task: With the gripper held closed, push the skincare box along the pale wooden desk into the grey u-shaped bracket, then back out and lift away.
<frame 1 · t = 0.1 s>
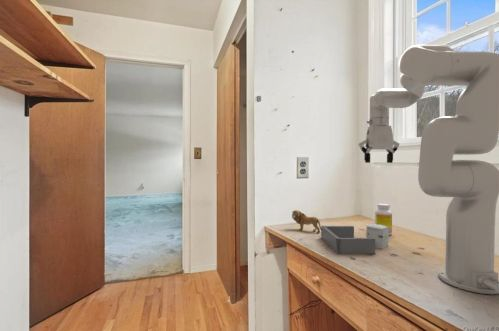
hand: (378, 162, 110), 31 cm above the table, tool pointing down, fingers open, 9 cm apart
skincare box: (377, 245, 96), on the table
supplement bottle: (383, 233, 112), on the table
lion figurine: (306, 231, 115), on the table
grey u-shaped bracket: (345, 245, 95), on the table
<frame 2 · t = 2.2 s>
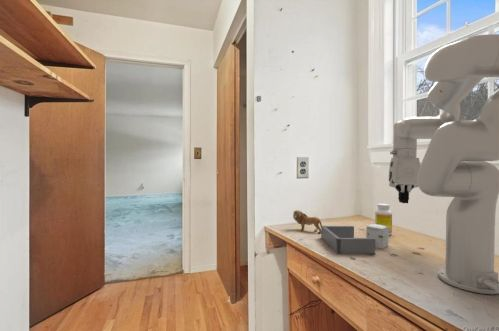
hand: (403, 202, 96), 16 cm above the table, tool pointing down, fingers closed
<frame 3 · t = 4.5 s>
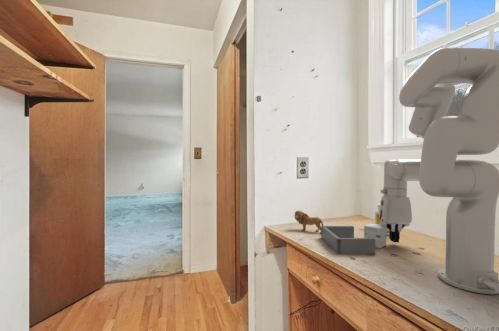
hand: (394, 241, 96), 1 cm above the table, tool pointing down, fingers closed
skincare box: (375, 245, 96), on the table, touching gripper
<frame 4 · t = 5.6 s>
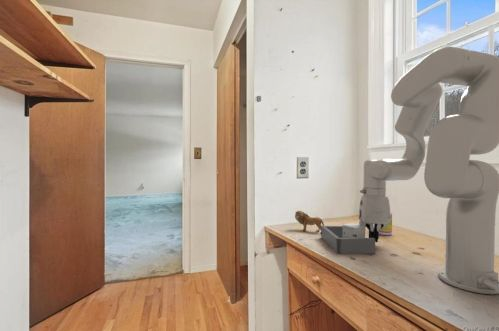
hand: (373, 241, 96), 1 cm above the table, tool pointing down, fingers closed
skincare box: (353, 244, 96), resting in grey u-shaped bracket, touching gripper
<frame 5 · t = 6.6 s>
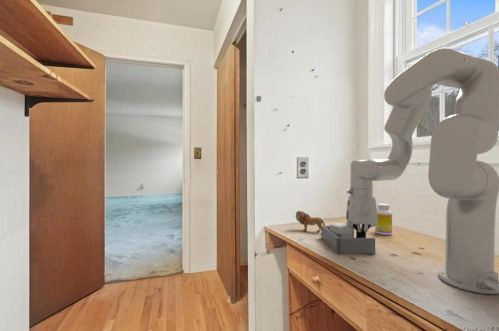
hand: (360, 241, 95), 1 cm above the table, tool pointing down, fingers closed
skincare box: (340, 244, 97), resting in grey u-shaped bracket, touching gripper
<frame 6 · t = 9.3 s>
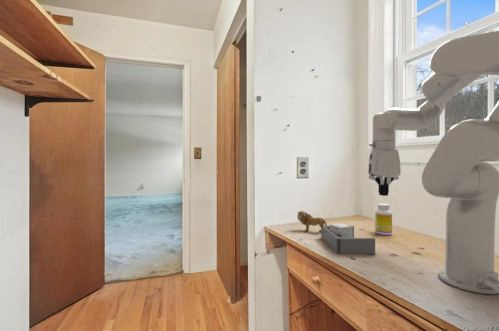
hand: (383, 195, 95), 19 cm above the table, tool pointing down, fingers closed
skincare box: (340, 244, 97), resting in grey u-shaped bracket
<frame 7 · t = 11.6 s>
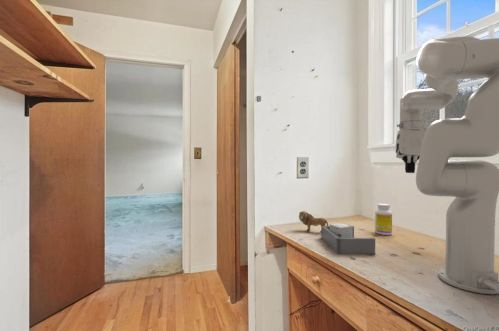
hand: (410, 172, 102), 27 cm above the table, tool pointing down, fingers closed
at the end: skincare box inside the target area on the grey u-shaped bracket (1.7 cm from its centre), point 0.0 cm above the grey u-shaped bracket's base; the gripper is holding nothing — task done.
